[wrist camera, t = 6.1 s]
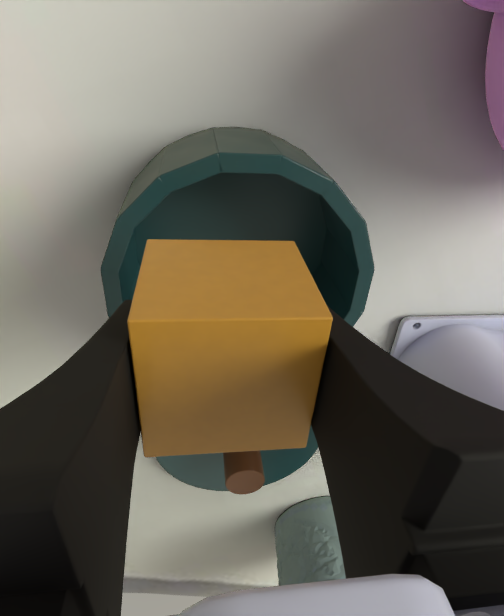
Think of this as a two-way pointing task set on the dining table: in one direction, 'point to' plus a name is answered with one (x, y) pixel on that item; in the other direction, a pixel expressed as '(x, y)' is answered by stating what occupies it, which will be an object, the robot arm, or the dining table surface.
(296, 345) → the block
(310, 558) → the green embossed cup
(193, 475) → the lid
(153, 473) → the dining table surface
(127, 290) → the pot
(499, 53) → the teapot
